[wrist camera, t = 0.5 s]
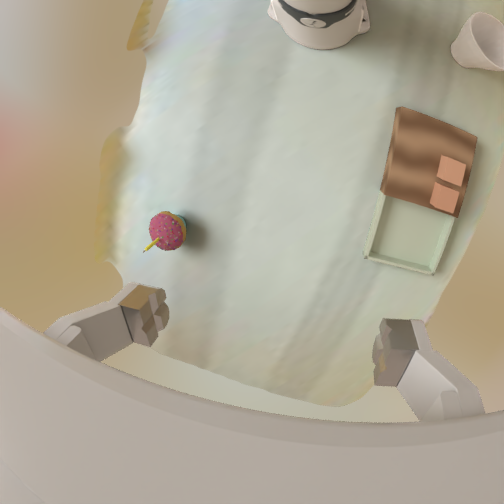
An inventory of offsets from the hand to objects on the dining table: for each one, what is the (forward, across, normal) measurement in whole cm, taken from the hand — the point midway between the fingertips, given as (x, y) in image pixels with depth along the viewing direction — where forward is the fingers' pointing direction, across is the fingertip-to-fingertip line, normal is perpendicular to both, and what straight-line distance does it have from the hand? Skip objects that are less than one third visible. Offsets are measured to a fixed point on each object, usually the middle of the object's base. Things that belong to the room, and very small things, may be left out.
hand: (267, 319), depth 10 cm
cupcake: (+44, +29, +15) cm, 55 cm away
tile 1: (+40, -24, +3) cm, 47 cm away
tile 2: (+40, -25, -2) cm, 47 cm away
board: (+44, -22, -3) cm, 49 cm away
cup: (+45, -30, -27) cm, 60 cm away
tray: (+44, -20, +12) cm, 50 cm away
